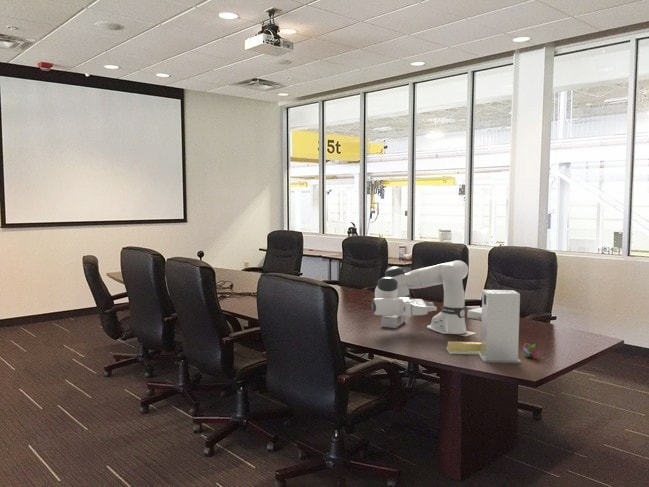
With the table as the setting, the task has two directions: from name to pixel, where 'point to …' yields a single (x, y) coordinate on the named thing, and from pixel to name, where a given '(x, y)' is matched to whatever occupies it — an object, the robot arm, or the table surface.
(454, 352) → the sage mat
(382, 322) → the coffee box
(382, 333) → the table surface
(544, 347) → the table surface
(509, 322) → the rack post
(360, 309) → the table surface
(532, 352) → the geometric puzzle
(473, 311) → the disc drive
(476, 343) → the brass bar
